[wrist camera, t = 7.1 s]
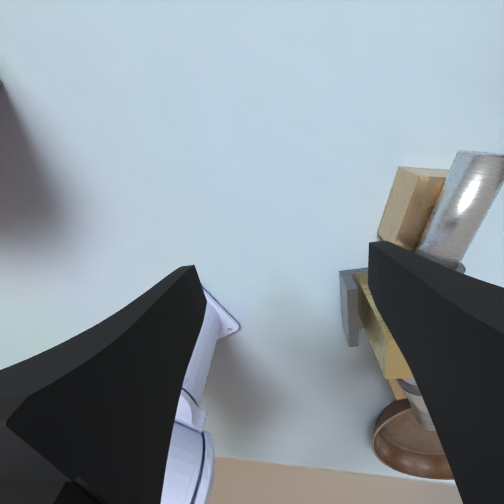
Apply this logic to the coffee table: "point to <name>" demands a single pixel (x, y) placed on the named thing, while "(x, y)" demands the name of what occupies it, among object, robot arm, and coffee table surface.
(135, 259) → the coffee table surface
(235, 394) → the coffee table surface
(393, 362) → the block
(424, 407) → the shaft
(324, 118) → the coffee table surface
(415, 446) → the plant saucer
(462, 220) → the shaft
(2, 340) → the coffee table surface
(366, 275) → the cradle
